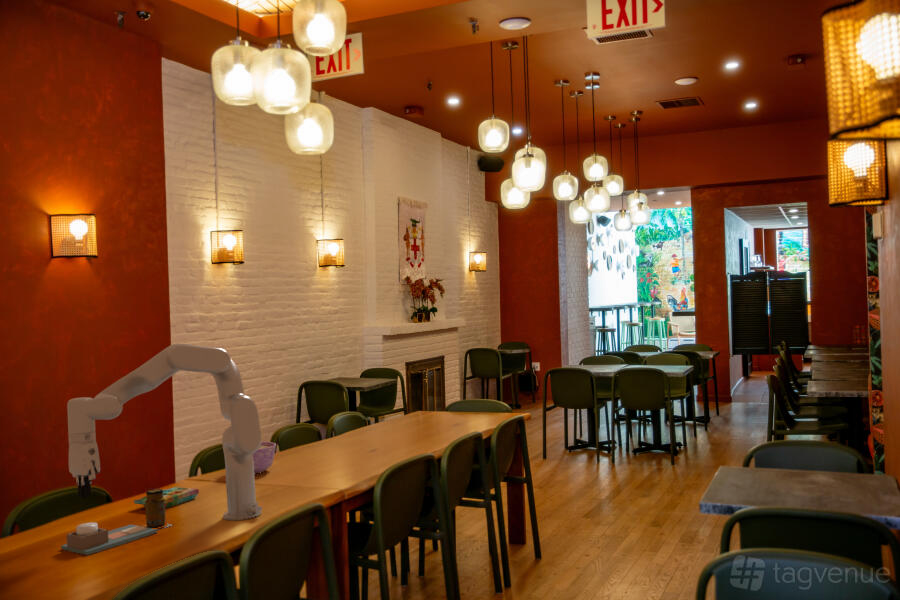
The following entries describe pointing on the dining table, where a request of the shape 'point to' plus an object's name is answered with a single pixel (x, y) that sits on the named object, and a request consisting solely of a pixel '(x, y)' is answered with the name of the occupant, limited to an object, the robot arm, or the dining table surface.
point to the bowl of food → (264, 456)
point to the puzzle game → (173, 496)
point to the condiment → (155, 509)
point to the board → (105, 539)
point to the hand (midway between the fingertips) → (84, 497)
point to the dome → (86, 529)
